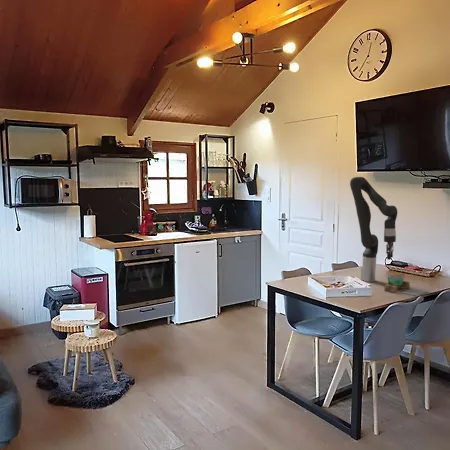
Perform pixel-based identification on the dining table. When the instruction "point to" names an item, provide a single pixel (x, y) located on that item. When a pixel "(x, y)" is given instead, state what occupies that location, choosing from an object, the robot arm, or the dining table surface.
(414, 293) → the slate pad
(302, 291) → the dining table surface
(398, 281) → the food container
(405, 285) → the clamp blocks
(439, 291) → the dining table surface
